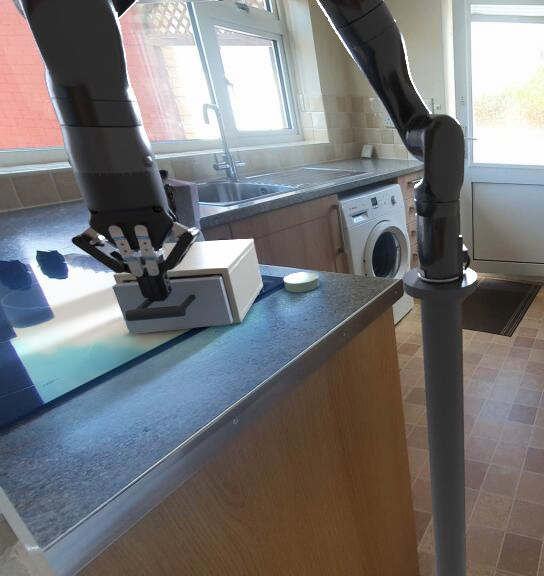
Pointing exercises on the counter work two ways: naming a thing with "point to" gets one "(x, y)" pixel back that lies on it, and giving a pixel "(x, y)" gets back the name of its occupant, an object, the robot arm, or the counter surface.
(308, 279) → the pale green disc
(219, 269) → the cabinet
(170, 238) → the moka pot
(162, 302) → the drawer
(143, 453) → the counter surface
